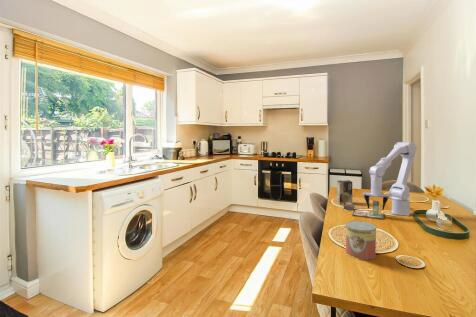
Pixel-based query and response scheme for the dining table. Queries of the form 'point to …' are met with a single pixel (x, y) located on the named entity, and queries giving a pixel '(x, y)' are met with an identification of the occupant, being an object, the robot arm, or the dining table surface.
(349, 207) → the button housing
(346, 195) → the coffee box
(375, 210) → the sage marker
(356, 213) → the colouring board
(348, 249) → the canned food
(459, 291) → the dining table surface
